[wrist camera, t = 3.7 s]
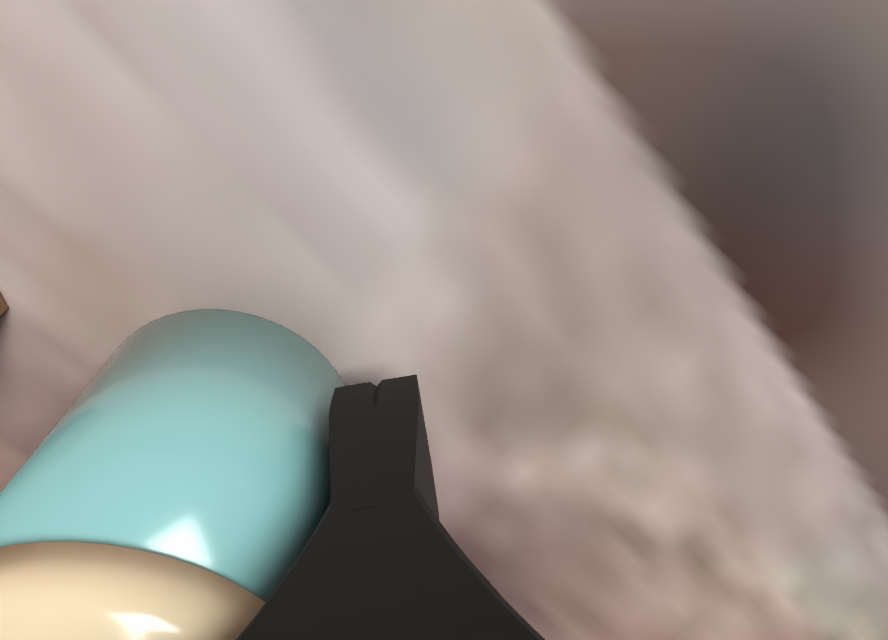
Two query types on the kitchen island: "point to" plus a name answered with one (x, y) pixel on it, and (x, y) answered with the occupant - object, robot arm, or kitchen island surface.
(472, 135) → the kitchen island surface
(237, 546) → the jar
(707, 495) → the kitchen island surface
